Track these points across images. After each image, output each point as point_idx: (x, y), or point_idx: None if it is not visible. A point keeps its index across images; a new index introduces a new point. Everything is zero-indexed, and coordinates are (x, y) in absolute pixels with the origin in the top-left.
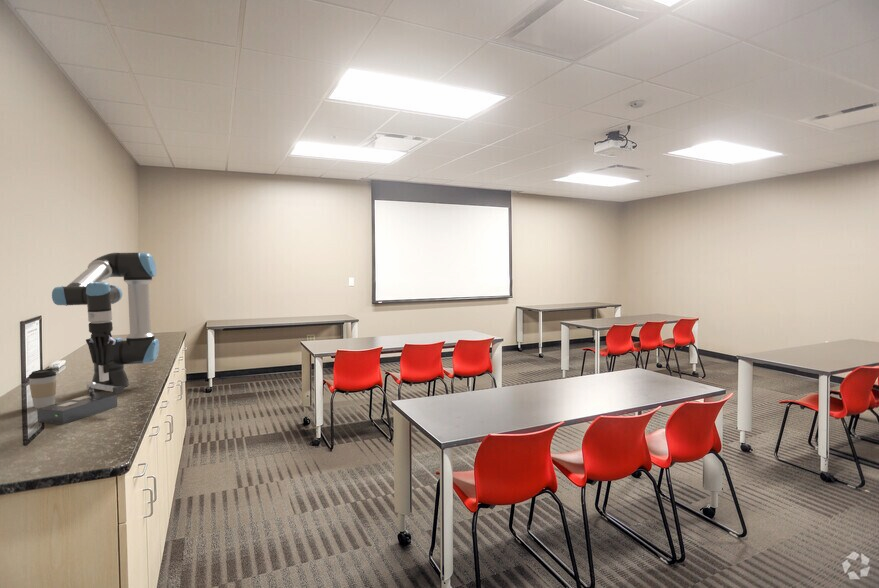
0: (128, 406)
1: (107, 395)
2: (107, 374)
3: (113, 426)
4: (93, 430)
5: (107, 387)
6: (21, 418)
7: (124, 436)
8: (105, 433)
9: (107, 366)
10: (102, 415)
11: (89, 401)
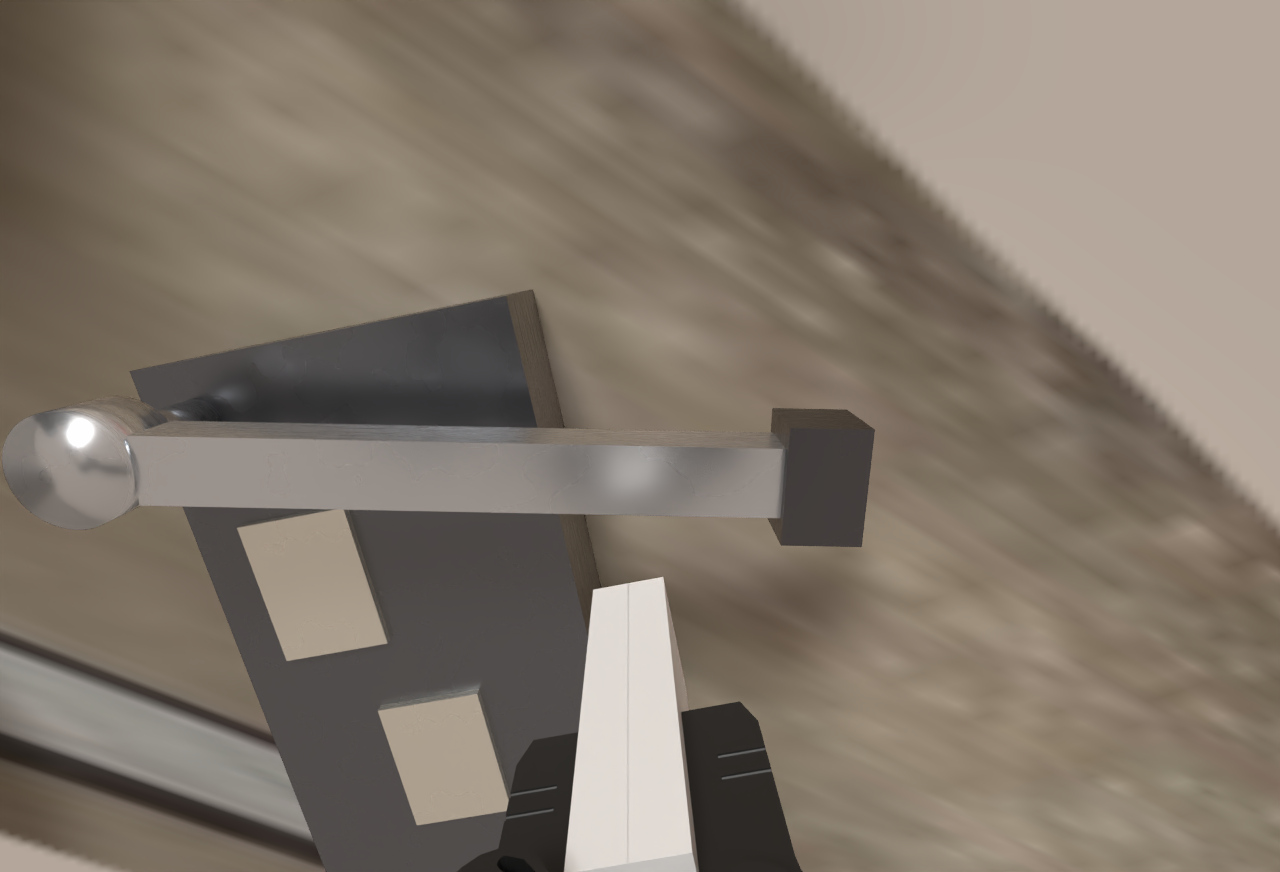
0: (645, 237)
1: (438, 372)
2: (675, 664)
3: (1099, 661)
4: (1027, 765)
5: (597, 510)
6: (152, 815)
7: None
8: (1185, 768)
9: (784, 861)
10: (704, 528)
11: (530, 609)
